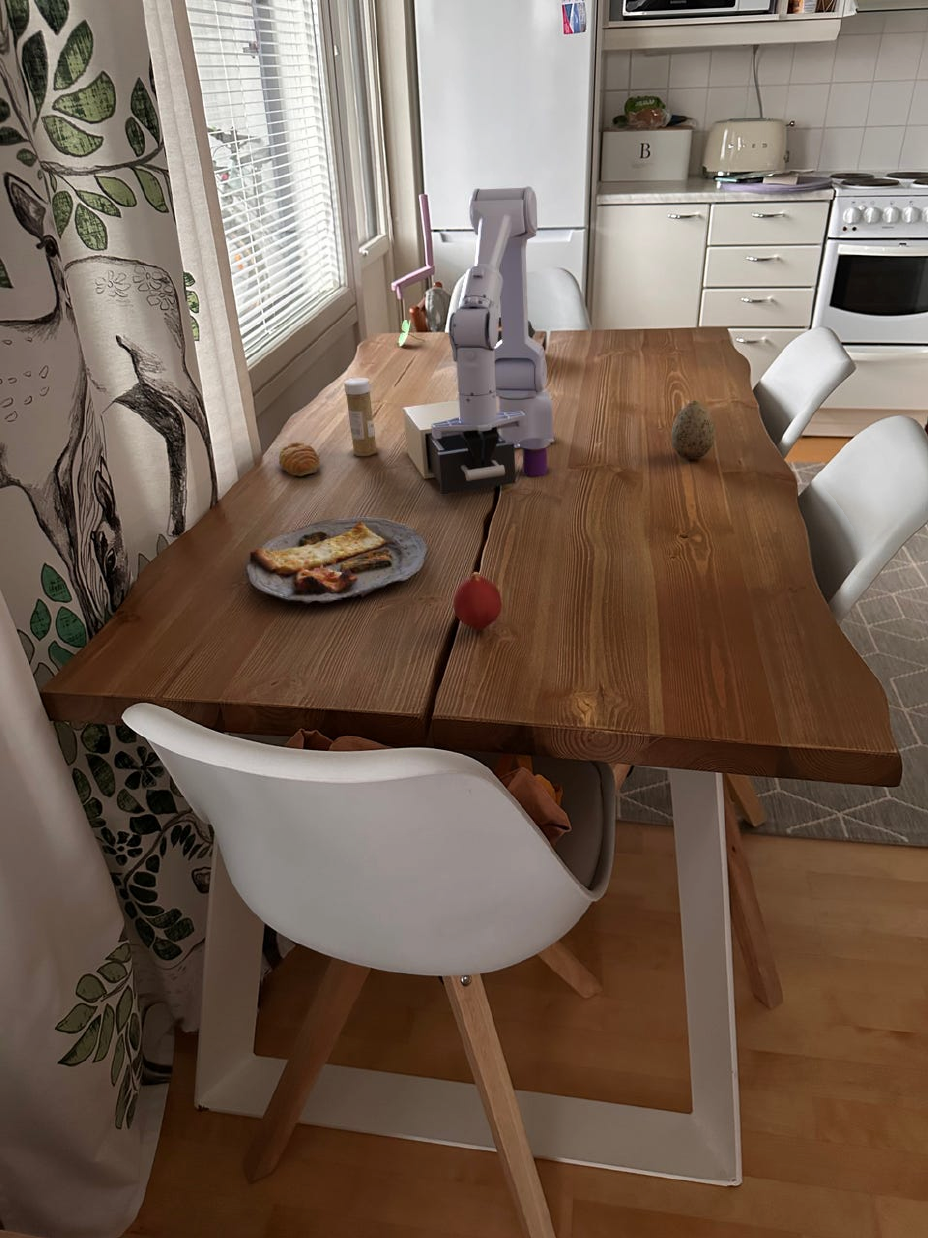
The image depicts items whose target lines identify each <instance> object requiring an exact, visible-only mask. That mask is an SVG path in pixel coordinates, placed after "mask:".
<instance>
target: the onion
mask: <svg viewBox="0 0 928 1238" xmlns="http://www.w3.org/2000/svg"><path fill="white" fill-rule="evenodd" d="M452 603H453V604H452V605H453V609H454V613H455V616H456V618H457V619H458V620H459V621H460V622H461V623H462V624H464V625H465V626H467V627H469V628H470V629H471V628H472V629H473V631H475V632H482V631H484V630H485V629H486V628H487V627H490V625H491V624H493V623H494V622H495V621H497V619H498V617H499V615H500V614H501V612H502V606H503V603H502V597H501V593H500V590H499V589H498V588H497V586H496V585H495V584H494V583H493V582H491V581H490V580H489V579H488V578H486V577H484V576H482V575H481V574H480V573H479V572H478V571H474V572H473V573H472V574H471V575H470V577H468V578H466V579H465V580H464V581H462V582H461V583H460V585H459V586H458V587H457V589H456V591H455V593H454V595H453V602H452Z"/></svg>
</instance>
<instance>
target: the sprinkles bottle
mask: <svg viewBox="0 0 928 1238" xmlns="http://www.w3.org/2000/svg"><path fill="white" fill-rule="evenodd" d="M343 386H344V387H343V388H344V393H345V395H346V402H347V403H346V404H347V413H348V421H349V429H350V436H351V437H350V438H351V440H352V441H351V442H352V449H353V450H352V453H353V455H355V456H357V457H369V456H372V455H375V454H376V453H377V452H378V447H377V441H376V429H375V424H374V414H373V409H372V399H371V382H370V379H368V378H365V377H356V378H355V377H354V378H350V379H347V380H345V381H344V383H343Z"/></svg>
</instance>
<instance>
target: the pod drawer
mask: <svg viewBox="0 0 928 1238" xmlns="http://www.w3.org/2000/svg"><path fill="white" fill-rule="evenodd" d="M426 443H427V455H428V467H429V468H430V470H431V471H432V473H433V474H434V476H435V477H434V478H436V480H437V482H438V483H439V489H440V491H439V492H440V494H441V495H442V496H446V495H452V494H459V493H463V492H470V491H478V490H483V489H489V488H490V489H491V488H496V487H502V486H508V485H515V484H516V482H517V481H516V456H515V454H516V453H515V452H516V451H515V448H514V443H513V442H505V440H504V439H503V438H502V437H501V436H500V435H499V441H498V443H497V445H496V447H495V449H494V451H493V453H492V456H491V459H490V463H489V467H486V468H479V469H474V465H473V462H472V459H471V456H470V453H469V451H468V449H467V447H466V445H465V443H464V441H463V439H462V437H461V435H460V434H459V435H452V436H445V437H441V439H434V438H433V436H432V433H429V434H426Z"/></svg>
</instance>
